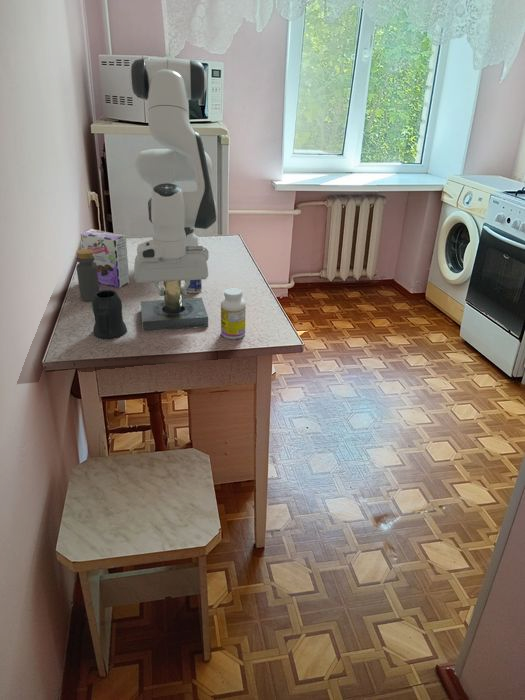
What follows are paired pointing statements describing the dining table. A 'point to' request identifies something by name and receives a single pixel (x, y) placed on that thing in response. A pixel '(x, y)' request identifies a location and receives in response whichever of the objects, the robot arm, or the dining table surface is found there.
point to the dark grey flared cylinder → (108, 315)
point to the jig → (173, 315)
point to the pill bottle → (194, 286)
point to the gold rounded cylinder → (172, 294)
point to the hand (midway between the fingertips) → (172, 294)
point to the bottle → (87, 275)
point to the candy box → (108, 256)
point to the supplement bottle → (233, 314)
